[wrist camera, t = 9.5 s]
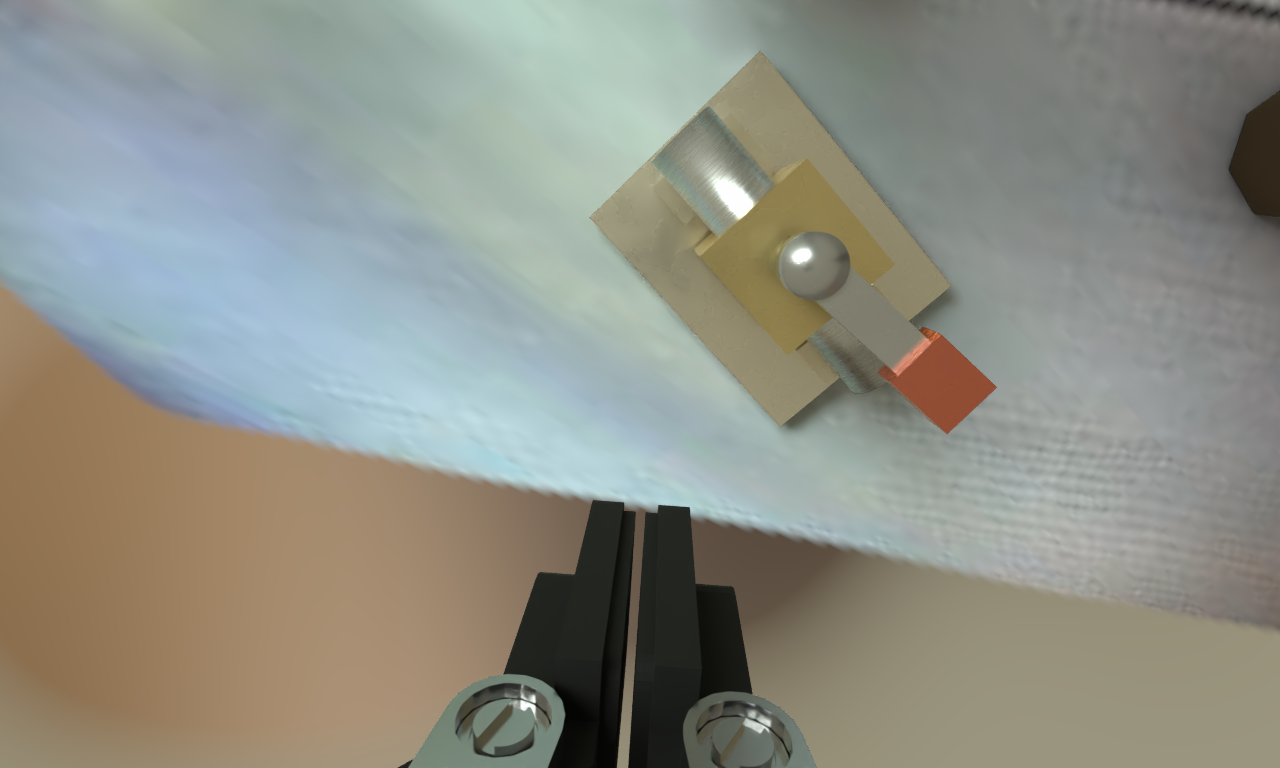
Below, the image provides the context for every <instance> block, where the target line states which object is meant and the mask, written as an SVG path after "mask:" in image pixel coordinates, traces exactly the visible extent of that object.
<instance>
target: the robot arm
mask: <svg viewBox="0 0 1280 768" xmlns="http://www.w3.org/2000/svg"><path fill="white" fill-rule="evenodd" d="M635 515H636V512H633V511H624V502H610V501H596V500H593V502H592V506H591V510H590V514H589V518H588V522H587V527H586V531H585V535H584V539H583V543H582V547H581V551H580V556H579V560H578V564H577V568H576V572H575V575H571V574H557V573H545V572H540V573H538V575H537V578H536V580H535V583H534V586H533V589H532V592H531V594H530V598H529V601H528V603H527V606H526V609H525V612H524V615H523V618H522V621H521V624H520V627H519V630H518V633H517V636H516V639H515V642H514V645H513V648H512V651H511V653H510V657H509V659H508V662H507V665H506V668H505V672H504V674H503V675H498V676H492V677H488V678H486V679H483V680H481V681H478V682H475V683H473V684H471V685H470V686H468V687H467V688H465V689H464V690H463V691H461V692H460V693H458V694H457V696H456V697H455V698H454V699H453V700H452V701H451V702H450V704H449V705H448V706H447V707H446V709H445V710H444V712H443V714H442V715H441V717H440V718H439V720H438V722H437V723H436V725H435V727H434V728H433V729H432V731H431V733H430V734H429V736H428V737H427V739H426V740H425V742H424V744H423V745H422V747H421V748H420V750H419V751H418V753H417V755H416V756H415V758H414V759H413V760H411V761H409V762H407V763H406V764H404V765H402V766H400V767H398V768H617V759H618V747H619V735H620V723H621V712H622V701H623V689H624V678H625V666H626V653H627V638H628V624H629V608H630V592H631V577H632V562H633V546H634V531H635ZM628 768H817V766H816V764H815V762H814V759H813V757H812V755H811V753H810V750H809V748H808V746H807V743H806V741H805V739H804V736H803V734H802V733H801V731H800V729H799V728H798V726H797V724H796V723H795V721H794V720H793V719H792V718H791V717H790V716H789V715H788V714H787V713H786V712H785V711H784V710H782V709H781V708H780V707H779V706H777V705H775V704H773V703H771V702H770V701H768V700H766V699H765V698H762V697H758V696H755V695H753V694H752V688H751V683H750V677H749V671H748V666H747V659H746V654H745V648H744V643H743V637H742V630H741V625H740V619H739V613H738V607H737V601H736V596H735V591H734V588H733V587H731V586H718V585H703V584H695V570H694V559H693V544H692V531H691V517H690V507H679V506H665V505H658V513H646V515H645V530H644V545H643V558H642V573H641V587H640V601H639V616H638V630H637V645H636V659H635V675H634V690H633V704H632V720H631V735H630V750H629V765H628Z"/></svg>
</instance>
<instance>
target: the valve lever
mask: <svg viewBox="0 0 1280 768" xmlns="http://www.w3.org/2000/svg"><path fill="white" fill-rule="evenodd" d="M776 273H777V277H778V279H779V281H780V283H781V284H782V285H783V286H784V288H785V289H787V290H788V291H789V292H791V293H793V294H794V295H796V296H798V297H800V298H802V299H805V300H811V301H815V302H816V303H817V304H818V305H819V306H820V307H822V308H823V309H824V310H825V311H826V312H827V313H828V314H829V315H830V316H831V317H832V318H834V319H835V320H836V321H837V322H838V323H839V324H840V325H841V326H842V327H843V328H844V329H845V330H847V331H848V332H849V333H850V334H851V335H852V336H853V337H854V338H855V339H856V340H857V341H859V342H860V343H861V344H862V345H863V346H864V347H865V348H866V349H867V350H868V351H869V352H871V353H872V354H873V355H874V356H875V357H876V358H877V359H878V360H879V361H880V362H881V363H882V364H884V366H883V367H882V368H881V369H880V370H879V371H878V372H877V373H878V374H879V375H880V376H881V377H882V378H883V379H885V380H886V381H887V382H888V383H889V384H890V385H891V386H892V387H893V388H894V389H896V390H897V391H898V392H899V393H900V394H901V395H902V396H903V397H904V398H905V399H906V400H908V401H909V402H910V403H911V404H912V405H913V406H914V407H915V408H916V409H917V410H918V411H920V412H921V413H922V414H923V415H924V416H925V417H926V418H927V419H928V420H929V421H931V422H932V423H933V424H935V425H936V426H937V427H939V428H940V429H941V430H942V431H944V432H945V433H946V434H948V433H949V432H950V431H951V430H952V429H953V428H954V427H955V426H956V425H957V424H958V423H959V422H961V421H962V420H963V419H964V418H965V417H966V416H967V415H968V414H969V413H970V412H971V411H972V410H973V409H974V408H976V407H977V406H978V405H979V404H980V403H981V402H982V401H983V400H984V399H985V398H986V397H987V396H988V395H989V394H990V393H992V392H993V391H994V390H995V389H996V388H997V387H996V386H995V385H994V384H993V383H992V382H991V381H990V380H989V379H988V378H987V377H986V376H984V375H983V374H982V373H981V372H980V371H979V370H978V369H977V368H976V367H975V366H974V365H973V364H972V363H971V362H970V361H969V360H968V359H967V358H965V357H964V356H963V355H962V354H961V353H960V352H959V351H958V350H957V349H956V348H955V347H954V346H953V345H952V344H951V343H950V342H949V341H947V340H946V339H945V338H944V337H943V336H942V335H941V334H939V333H937V332H934V331H932V330H930V329H927V328H925V327H922V328H921V329H920V330H918V329H917V328H916V327H915V326H914V325H913V324H911V323H910V322H909V321H908V320H907V319H906V318H905V317H904V316H903V315H902V314H901V313H900V312H899V311H898V310H897V309H895V308H894V307H893V306H892V305H891V304H890V303H889V302H888V301H887V300H886V299H885V298H884V297H883V296H882V295H881V294H880V293H878V292H877V291H876V290H875V289H874V288H873V287H872V286H871V285H870V284H869V283H868V282H867V281H866V280H865V279H864V278H863V277H861V276H860V275H859V274H858V273H857V272H856V271H855V270H854V269H853V268H852V267H851V266H850V257H849V253H848V251H847V249H846V247H845V245H844V244H843V243H842V242H841V241H840V240H839V239H838V238H837V237H835V236H833V235H831V234H829V233H825V232H817V231H805V232H800V233H798V234H795V235H793V236H792V237H790V238H789V239H788V240H787V241H786V242H785V243H784V244H783V245H782V247H781V248H780V250H779V252H778V255H777V258H776Z"/></svg>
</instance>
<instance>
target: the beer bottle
mask: <svg viewBox="0 0 1280 768" xmlns="http://www.w3.org/2000/svg"><path fill="white" fill-rule="evenodd" d="M1229 171H1230V173H1231V174H1232V176H1233V178H1234V180H1235V181H1236V183H1237V185H1238V187H1239V189H1240V190H1241V192H1242V194H1243V196H1244V197H1245V199H1246V201H1247V203H1248V204H1249V206H1250V208H1251V210H1252V211H1253V212H1254V213H1255V214H1259V215H1267V216H1276V217H1280V91H1279V92H1277V93H1276V94H1275V95H1273V96H1272V97H1270V98H1269V99H1267V100H1266V101H1265V102H1263V103H1262V104H1260V105H1259V106H1258V107H1256V108H1255V109H1253V110H1252V111H1250V112H1249V113H1248V114H1247V115H1246V118H1245V121H1244V124H1243V127H1242V130H1241V133H1240V137H1239V140H1238V143H1237V146H1236V149H1235V152H1234V155H1233V158H1232V161H1231V164H1230V167H1229Z"/></svg>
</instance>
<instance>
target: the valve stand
mask: <svg viewBox="0 0 1280 768" xmlns="http://www.w3.org/2000/svg"><path fill="white" fill-rule="evenodd" d="M589 218H590V219H591V220H592V221H593V222H594V223H595V224H596V225H597V226H598V227H599V229H600V230H601V231H602V232H603V233H604V234H605V235H606V236H607V237H608V238H609V240H610V241H611V242H612V243H613V244H614V245H615V246H616V247H617V248H618V249H619V251H620V252H621V253H622V254H623V255H624V256H625V257H626V258H627V259H628V260H629V261H630V263H631V264H632V265H633V266H634V267H635V268H636V269H637V270H638V271H639V272H640V274H641V275H642V276H643V277H644V278H645V279H646V280H647V281H648V282H649V283H650V285H651V286H652V287H653V288H654V289H655V290H656V291H657V292H658V293H659V294H660V295H661V297H662V298H663V299H664V300H665V301H666V302H667V303H668V304H669V305H670V306H671V308H672V309H673V310H674V311H675V312H676V313H677V314H678V315H679V316H680V317H681V319H682V320H683V321H684V322H685V323H686V324H687V325H688V326H689V327H690V328H691V329H692V331H693V332H694V333H695V334H696V335H697V336H698V337H699V338H700V339H701V340H702V342H703V343H704V344H705V345H706V346H707V347H708V348H709V349H710V350H711V351H712V353H713V354H714V355H715V356H716V357H717V358H718V359H719V360H720V361H721V362H722V363H723V365H724V366H725V367H726V368H727V369H728V370H729V371H730V372H731V373H732V374H733V376H734V377H735V378H736V379H737V380H738V381H739V382H740V383H741V384H742V385H743V387H744V388H745V389H746V390H747V391H748V392H749V393H750V394H751V395H752V396H753V397H754V399H755V400H756V401H757V402H758V403H759V404H760V405H761V406H762V407H763V408H764V410H765V411H766V412H767V413H768V414H769V415H770V416H771V417H772V418H773V419H774V421H775V422H776V423H777V424H778V425H779V426H782V425H783V424H784V423H785V422H787V421H788V420H789V419H790V418H791V417H793V416H794V415H795V414H796V413H797V412H799V411H800V410H801V409H802V408H804V407H805V406H806V405H807V404H808V403H810V402H811V401H812V400H813V399H815V398H816V397H817V396H818V395H819V394H821V393H822V392H823V391H824V390H825V389H827V388H828V387H829V386H830V385H832V384H833V383H834V382H835V381H836V380H838V379H839V378H840V379H841V380H842V381H843V382H844V383H845V384H846V385H847V387H848V388H849V389H850V390H851V391H852V392H853V393H856V394H860V393H865V392H869V391H871V390H873V389H876V388H878V387H879V386H881V385H883V384H884V383H886V382H887V381H886V380H885V379H883V378H882V377H881V376H880V375H879V374H878V373H877V372H878V371H879V370H880V369H881V368H882V367H883V366H884V364H882V363H881V362H880V361H879V360H878V359H877V358H876V357H875V356H874V355H873V354H872V353H871V352H869V351H868V350H867V349H866V348H865V347H864V346H863V345H862V344H861V343H860V342H859V341H857V340H856V339H855V338H854V337H853V336H852V335H851V334H850V333H849V332H848V331H847V330H845V329H844V328H843V327H842V326H841V325H840V324H839V323H838V322H837V321H836V320H835V319H834V318H832V317H831V316H830V315H829V314H828V313H827V312H826V311H825V310H824V309H823V308H822V307H820V306H819V305H818V304H817V303H816V302H815V301H811V300H805V299H802V298H800V297H798V296H796V295H794V294H793V293H791V292H789V291H788V290H787V289H785V288H784V286H783V285H782V284H781V283H780V281H779V279H778V277H777V273H776V258H777V255H778V252H779V250H780V248H781V247H782V245H783V244H784V243H785V242H786V241H787V240H788V239H789V238H790V237H792V236H793V235H795V234H798V233H800V232H805V231H817V232H825V233H829V234H831V235H833V236H835V237H837V238H838V239H839V240H840V241H841V242H842V243H843V244H844V245H845V247H846V249H847V251H848V253H849V257H850V266H851V267H852V268H853V269H854V270H855V271H856V272H857V273H858V274H859V275H860V276H861V277H863V278H864V279H865V280H866V281H867V282H868V283H869V284H870V285H871V286H872V287H873V288H874V289H875V290H876V291H877V292H878V293H880V294H881V295H882V296H883V297H884V298H885V299H886V300H887V301H888V302H889V303H890V304H891V305H892V306H893V307H894V308H895V309H897V310H898V311H899V312H900V313H901V314H902V315H903V316H904V317H905V318H906V319H907V320H908V321H909V320H911V319H912V318H913V317H914V316H916V315H917V314H918V313H919V312H920V311H922V310H923V309H924V308H925V307H926V306H928V305H929V304H930V303H931V302H933V301H934V300H935V299H936V298H937V297H939V296H940V295H941V294H942V293H944V292H945V291H946V290H947V289H948V288H950V287H951V285H950V283H949V282H948V281H947V280H946V278H945V277H944V276H943V275H942V273H941V272H940V271H939V270H938V269H937V267H936V266H935V265H934V264H933V262H932V261H931V260H930V259H929V257H928V256H927V255H926V254H925V252H924V251H923V250H922V249H921V248H920V246H919V245H918V244H917V243H916V241H915V240H914V239H913V238H912V236H911V235H910V234H909V233H908V231H907V230H906V229H905V228H904V227H903V225H902V224H901V223H900V222H899V220H898V219H897V218H896V217H895V215H894V214H893V213H892V212H891V211H890V209H889V208H888V207H887V206H886V204H885V203H884V202H883V201H882V199H881V198H880V197H879V196H878V194H877V193H876V192H875V191H874V190H873V188H872V187H871V186H870V185H869V183H868V182H867V181H866V180H865V178H864V177H863V176H862V175H861V173H860V172H859V171H858V170H857V169H856V167H855V166H854V165H853V164H852V162H851V161H850V160H849V159H848V157H847V156H846V155H845V154H844V152H843V151H842V150H841V149H840V148H839V146H838V145H837V144H836V143H835V141H834V140H833V139H832V138H831V136H830V135H829V134H828V133H827V132H826V130H825V129H824V128H823V127H822V125H821V124H820V123H819V122H818V120H817V119H816V118H815V117H814V115H813V114H812V113H811V112H810V111H809V109H808V108H807V107H806V106H805V104H804V103H803V102H802V101H801V99H800V98H799V97H798V96H797V94H796V93H795V92H794V91H793V90H792V88H791V87H790V86H789V85H788V83H787V82H786V81H785V80H784V78H783V77H782V76H781V75H780V73H779V72H778V71H777V70H776V69H775V67H774V66H773V65H772V64H771V62H770V61H769V60H768V59H767V57H766V56H765V55H764V54H763V53H762V51H761V50H760V51H759V52H758V53H757V54H756V55H755V56H754V57H753V58H752V59H751V60H750V61H749V62H748V63H747V64H746V65H745V66H744V67H743V68H742V69H741V70H740V71H739V72H738V73H737V74H736V75H735V76H734V77H733V78H732V79H731V80H730V81H729V82H728V83H727V84H726V85H725V86H724V87H723V88H722V89H721V90H719V91H718V92H717V93H716V94H715V95H714V96H713V97H712V98H711V99H710V100H709V101H708V102H707V103H706V104H705V105H704V106H703V107H702V108H701V109H700V110H699V111H698V112H697V113H696V114H695V115H694V116H693V117H692V118H691V119H690V120H689V121H688V122H687V123H686V124H685V125H684V126H683V127H682V128H681V129H680V130H679V131H677V132H676V133H675V134H674V135H673V136H672V137H671V138H670V139H669V140H668V141H667V142H666V143H665V144H664V145H663V146H662V147H661V148H660V149H659V150H658V151H657V152H656V153H655V154H654V155H653V156H652V157H651V158H650V159H649V160H648V161H647V162H646V163H645V164H644V165H643V166H642V167H641V168H640V169H639V170H638V171H637V172H635V173H634V174H633V175H632V176H631V177H630V178H629V179H628V180H627V181H626V182H625V183H624V184H623V185H622V186H621V187H620V188H619V189H618V190H617V191H616V192H615V193H614V194H613V195H612V196H611V197H610V198H609V199H608V200H607V201H606V202H605V203H604V204H603V205H602V206H601V207H600V208H599V209H598V210H597V211H596V212H594V213H593V214H592V215H591V216H590V217H589Z"/></svg>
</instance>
